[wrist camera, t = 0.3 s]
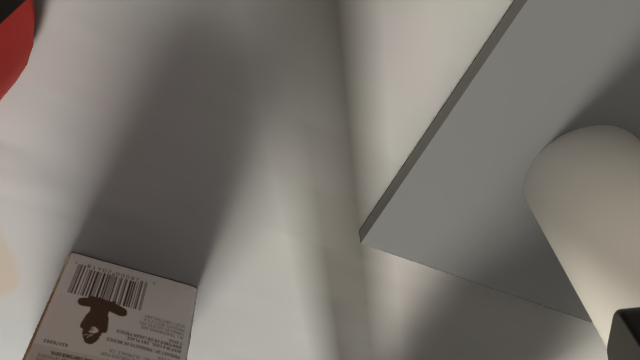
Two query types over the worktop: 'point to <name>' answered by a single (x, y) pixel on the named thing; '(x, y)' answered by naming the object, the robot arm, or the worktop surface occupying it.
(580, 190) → the white lens
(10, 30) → the canned food
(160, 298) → the coffee box
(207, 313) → the worktop surface
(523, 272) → the rubber mat
